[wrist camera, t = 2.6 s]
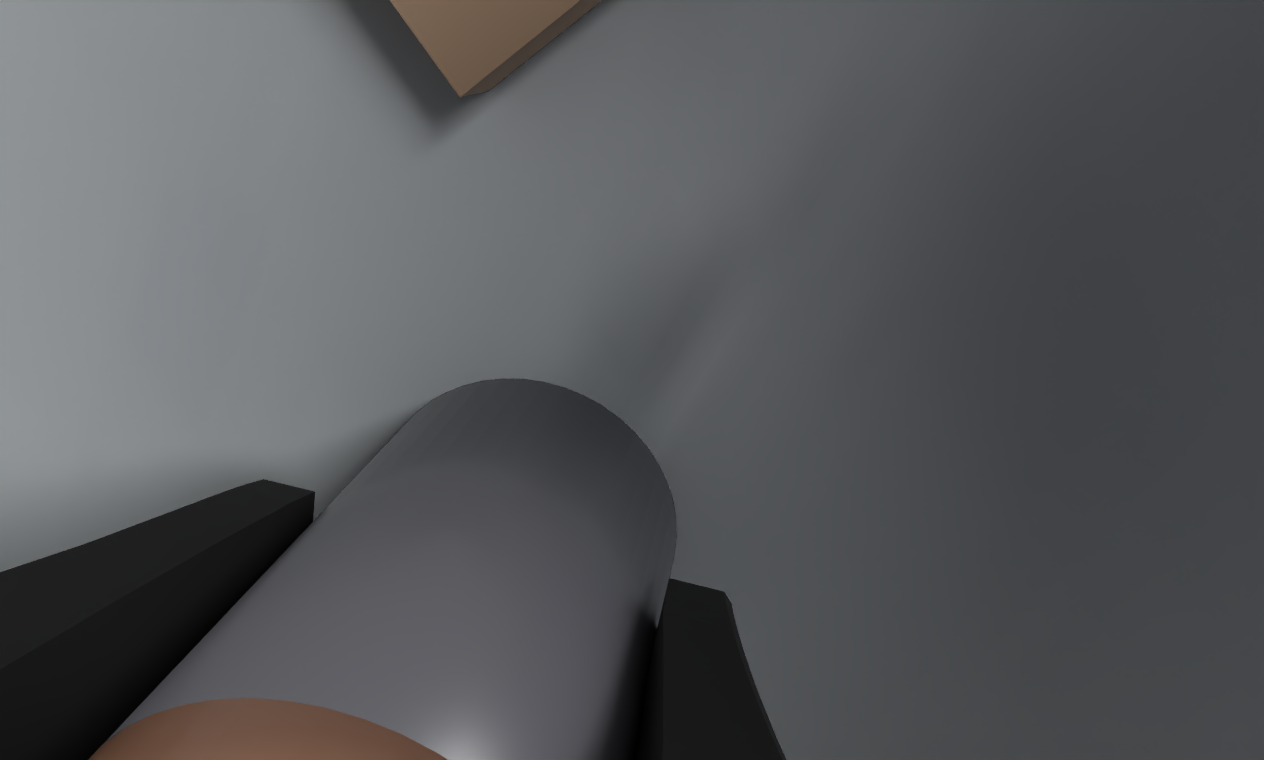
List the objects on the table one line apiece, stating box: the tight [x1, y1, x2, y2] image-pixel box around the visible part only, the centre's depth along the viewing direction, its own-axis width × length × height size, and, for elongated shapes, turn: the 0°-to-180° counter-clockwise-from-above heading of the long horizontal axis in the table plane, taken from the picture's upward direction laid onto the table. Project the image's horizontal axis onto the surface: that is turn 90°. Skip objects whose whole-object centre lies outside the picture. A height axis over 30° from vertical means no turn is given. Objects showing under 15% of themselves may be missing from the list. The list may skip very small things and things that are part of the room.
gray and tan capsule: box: [88, 379, 677, 760], centre depth 9 cm, size 4×4×8 cm
